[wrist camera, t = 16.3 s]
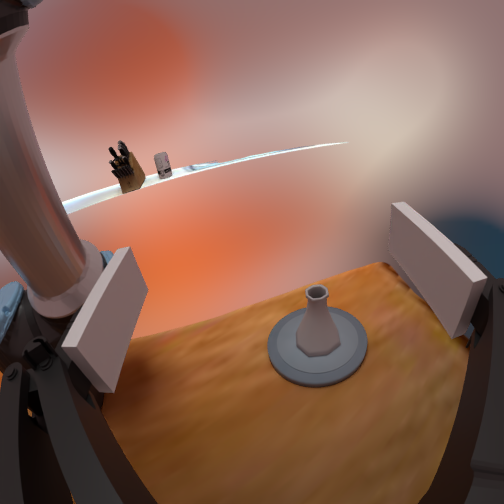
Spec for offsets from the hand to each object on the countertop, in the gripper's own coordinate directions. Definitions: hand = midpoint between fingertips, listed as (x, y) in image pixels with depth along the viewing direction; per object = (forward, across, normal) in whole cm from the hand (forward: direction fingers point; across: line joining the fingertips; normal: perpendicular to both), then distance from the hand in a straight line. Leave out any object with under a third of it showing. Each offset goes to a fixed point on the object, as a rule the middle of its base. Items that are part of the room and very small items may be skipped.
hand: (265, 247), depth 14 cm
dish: (+18, +6, -30) cm, 35 cm away
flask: (+18, +6, -28) cm, 34 cm away
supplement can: (+154, -51, -30) cm, 165 cm away
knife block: (+147, -70, -30) cm, 166 cm away
